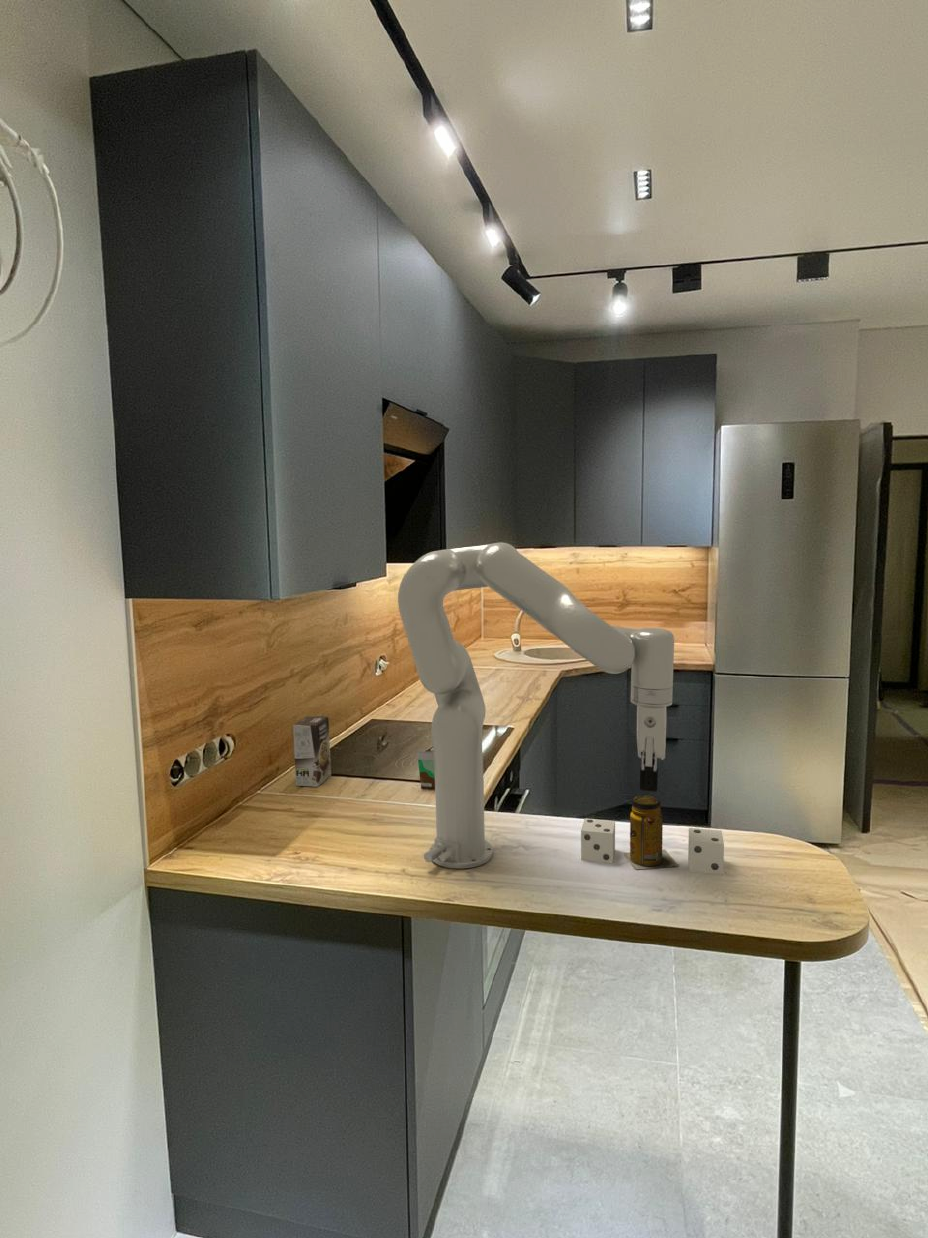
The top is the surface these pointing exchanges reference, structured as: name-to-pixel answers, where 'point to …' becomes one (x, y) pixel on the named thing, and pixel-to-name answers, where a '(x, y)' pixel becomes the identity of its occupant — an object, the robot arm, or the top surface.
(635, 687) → the robot arm
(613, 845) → the three dot block
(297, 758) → the coffee box
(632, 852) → the condiment
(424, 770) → the food container
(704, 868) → the two dot block
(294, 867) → the top surface
